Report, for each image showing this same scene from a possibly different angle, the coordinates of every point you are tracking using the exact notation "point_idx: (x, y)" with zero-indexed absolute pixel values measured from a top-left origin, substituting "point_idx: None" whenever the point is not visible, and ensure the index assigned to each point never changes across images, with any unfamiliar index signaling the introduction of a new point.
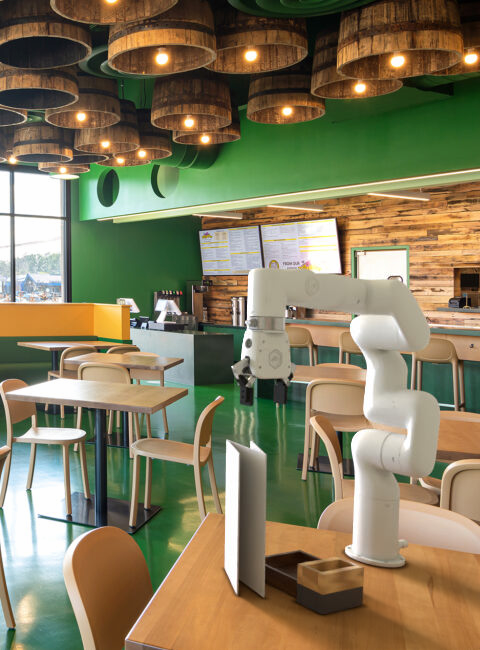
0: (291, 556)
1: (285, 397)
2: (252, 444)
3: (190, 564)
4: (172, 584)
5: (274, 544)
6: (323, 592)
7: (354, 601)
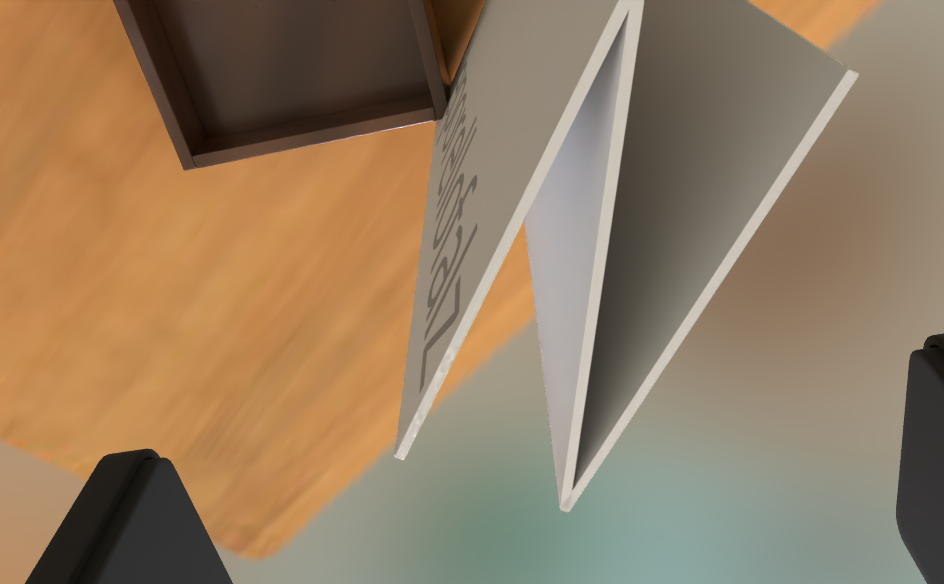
0: (241, 142)
1: (97, 536)
2: (432, 394)
3: None
4: None
5: (193, 324)
6: None
7: None
